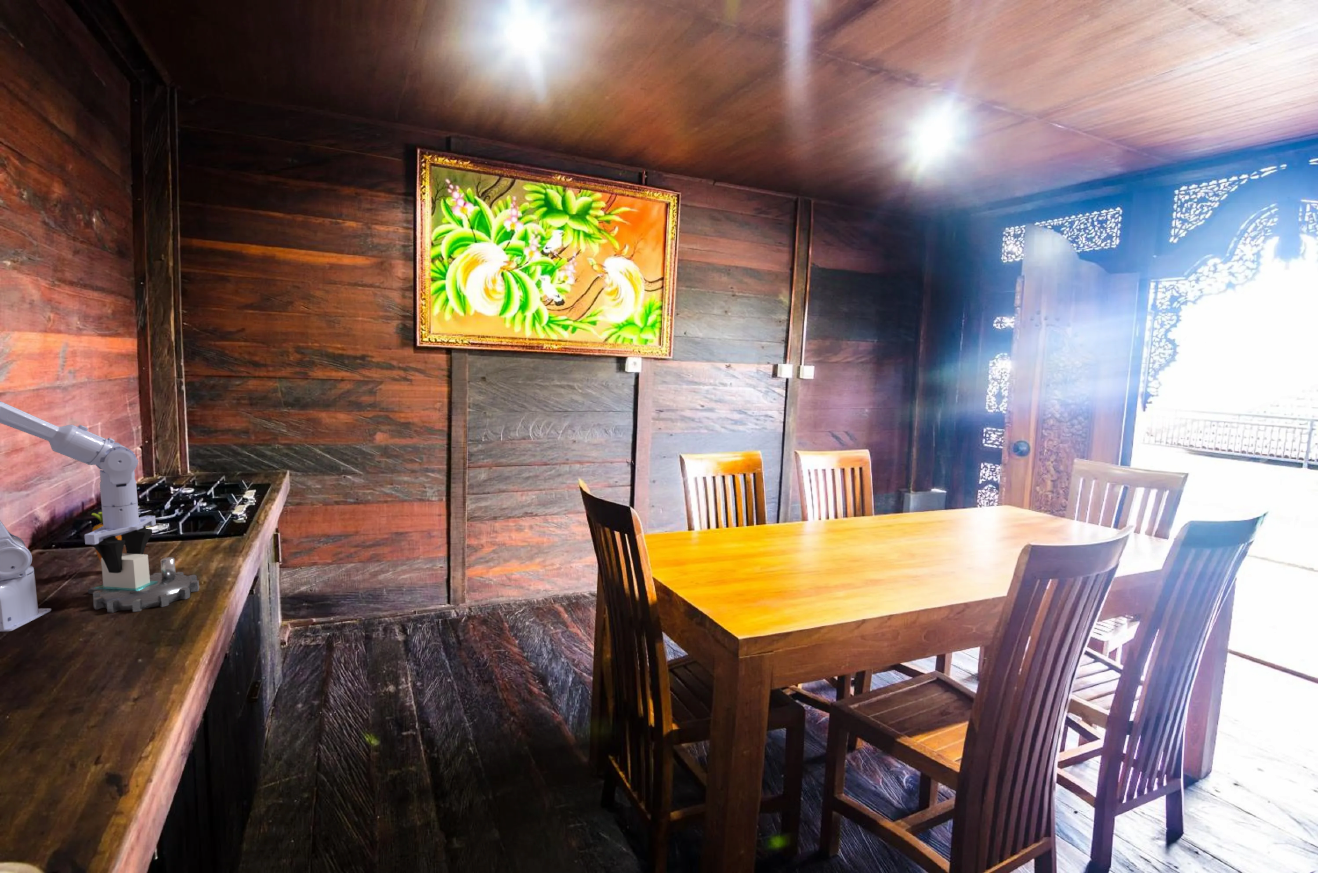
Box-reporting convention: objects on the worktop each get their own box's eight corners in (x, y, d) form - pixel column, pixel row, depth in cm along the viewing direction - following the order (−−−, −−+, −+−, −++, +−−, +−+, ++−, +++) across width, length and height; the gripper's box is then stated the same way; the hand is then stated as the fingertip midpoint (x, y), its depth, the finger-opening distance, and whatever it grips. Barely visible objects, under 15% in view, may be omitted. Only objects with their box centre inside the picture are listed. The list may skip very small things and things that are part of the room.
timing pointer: (107, 593, 140) (107, 587, 139) (101, 595, 138) (101, 590, 138) (94, 592, 140) (93, 586, 140) (88, 594, 138) (87, 589, 138)
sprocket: (99, 620, 126) (96, 589, 125) (88, 594, 138) (85, 566, 137) (208, 597, 138) (206, 569, 137) (189, 575, 150) (187, 549, 149)
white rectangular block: (149, 582, 140) (147, 554, 139) (135, 588, 136) (133, 560, 135) (118, 580, 140) (116, 552, 139) (103, 586, 137) (100, 558, 136)
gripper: (106, 513, 128) (112, 581, 130) (167, 496, 143) (171, 558, 145) (72, 511, 129) (78, 579, 131) (135, 494, 143) (140, 556, 145)
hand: (125, 568), depth 138 cm, fingers open, 4 cm apart
